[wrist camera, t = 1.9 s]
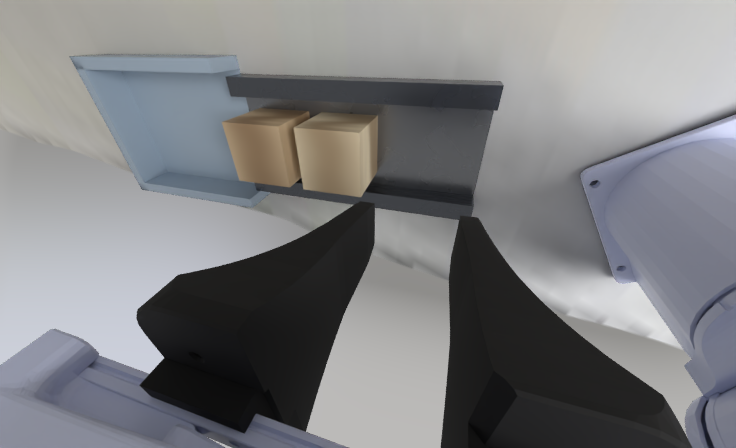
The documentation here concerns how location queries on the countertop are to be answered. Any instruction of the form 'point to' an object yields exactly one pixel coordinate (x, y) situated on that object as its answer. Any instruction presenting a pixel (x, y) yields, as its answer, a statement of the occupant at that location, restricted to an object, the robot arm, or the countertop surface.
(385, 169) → the slot rail
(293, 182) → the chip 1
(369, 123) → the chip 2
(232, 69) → the tray
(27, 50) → the countertop surface
